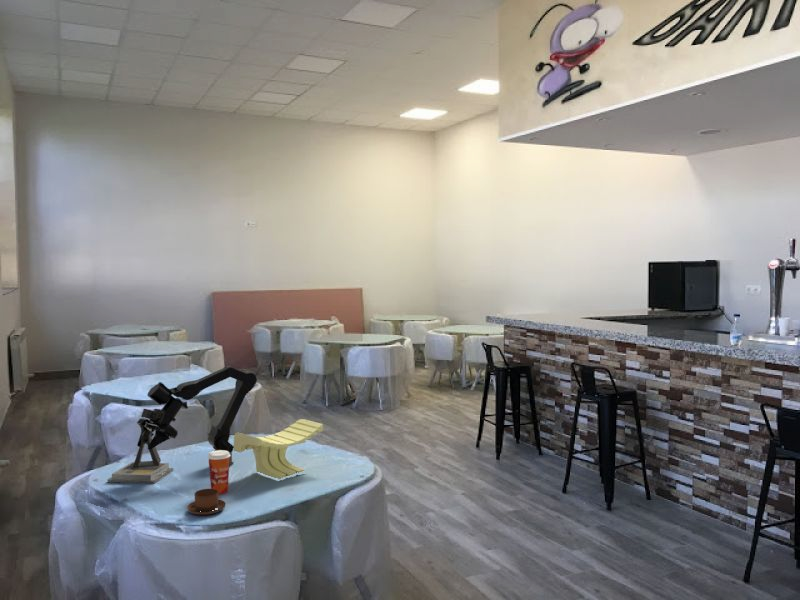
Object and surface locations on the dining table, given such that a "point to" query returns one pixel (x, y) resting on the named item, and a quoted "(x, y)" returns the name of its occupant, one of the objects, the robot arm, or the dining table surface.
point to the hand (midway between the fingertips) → (143, 447)
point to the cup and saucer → (206, 502)
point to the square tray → (141, 474)
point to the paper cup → (219, 470)
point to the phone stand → (153, 453)
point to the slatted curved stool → (277, 447)
